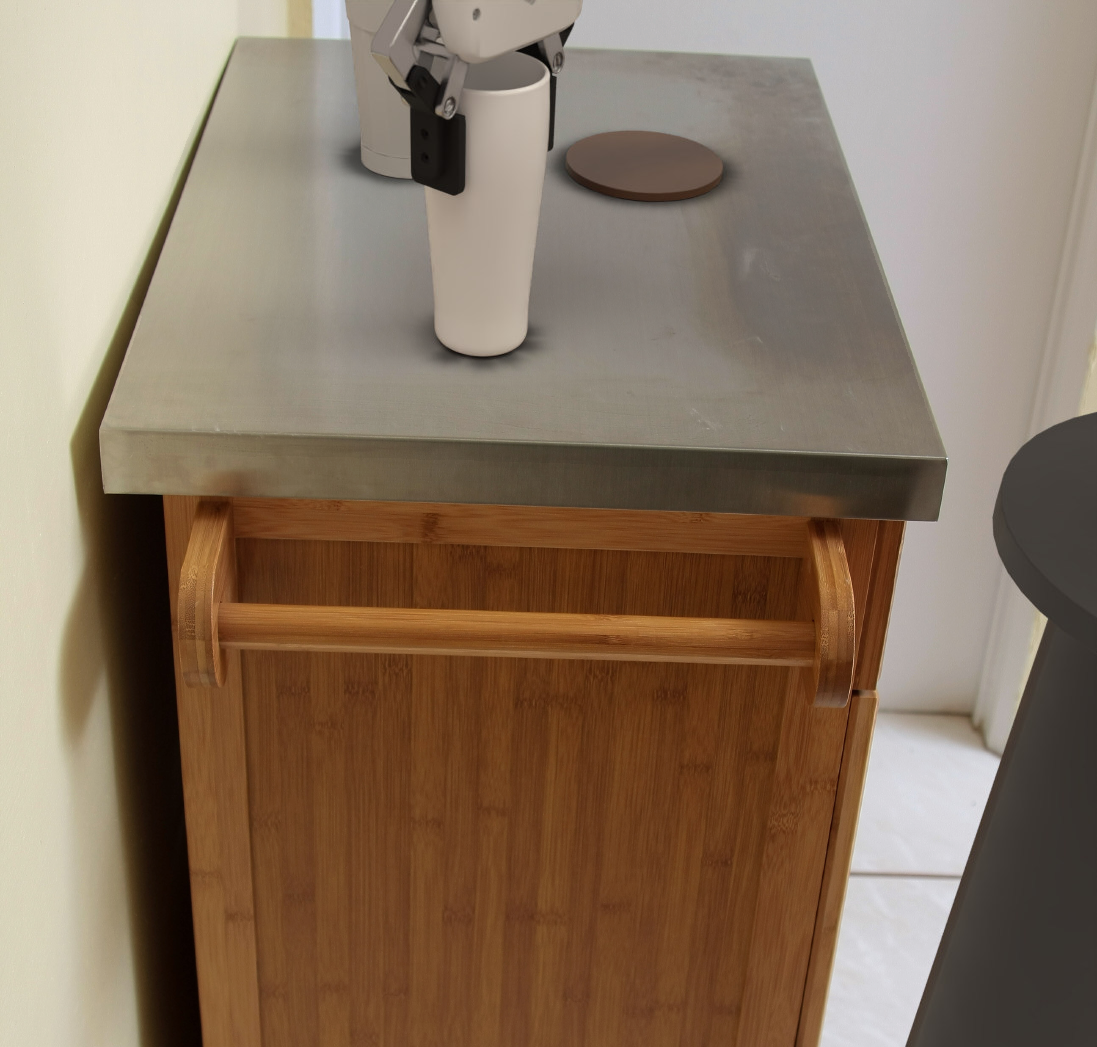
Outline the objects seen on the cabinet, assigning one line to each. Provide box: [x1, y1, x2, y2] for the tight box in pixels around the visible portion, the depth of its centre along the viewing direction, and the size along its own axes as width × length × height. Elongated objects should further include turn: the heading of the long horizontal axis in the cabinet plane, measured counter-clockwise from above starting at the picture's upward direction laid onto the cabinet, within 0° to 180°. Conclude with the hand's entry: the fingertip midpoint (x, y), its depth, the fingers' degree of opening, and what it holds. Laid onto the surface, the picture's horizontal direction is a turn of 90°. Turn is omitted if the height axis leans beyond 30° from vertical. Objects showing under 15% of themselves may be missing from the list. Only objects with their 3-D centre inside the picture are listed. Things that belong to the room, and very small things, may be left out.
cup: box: [344, 0, 444, 180], centre depth 103 cm, size 8×8×13 cm
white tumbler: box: [423, 51, 550, 357], centre depth 84 cm, size 7×7×15 cm
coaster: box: [565, 130, 724, 202], centre depth 108 cm, size 11×11×1 cm
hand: (483, 163), depth 82 cm, fingers closed on white tumbler, 6 cm apart
